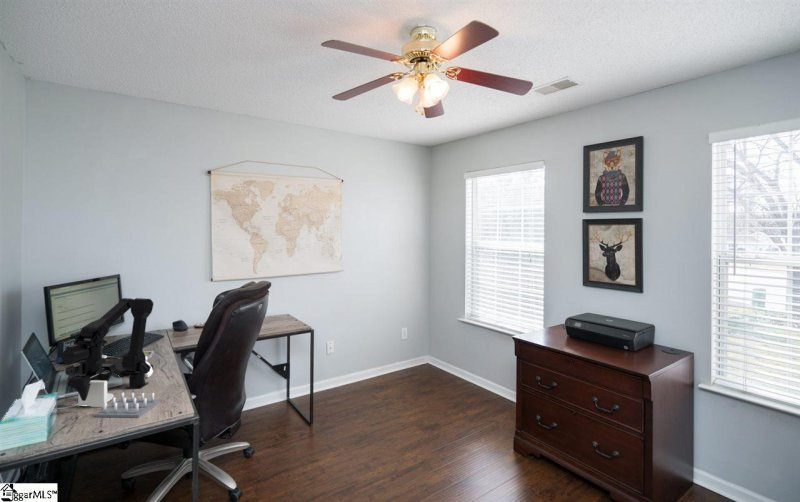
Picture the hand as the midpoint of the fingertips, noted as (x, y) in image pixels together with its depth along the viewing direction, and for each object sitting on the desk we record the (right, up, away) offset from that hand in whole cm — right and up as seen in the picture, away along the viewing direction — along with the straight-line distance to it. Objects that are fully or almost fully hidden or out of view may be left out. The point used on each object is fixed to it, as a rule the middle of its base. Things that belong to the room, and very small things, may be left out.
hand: (92, 395), depth 157 cm
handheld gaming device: (-23, -2, +66) cm, 70 cm away
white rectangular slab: (0, -4, 0) cm, 4 cm away
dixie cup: (-19, -3, +26) cm, 32 cm away
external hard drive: (-16, -3, +44) cm, 47 cm away
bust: (-2, -3, +35) cm, 35 cm away
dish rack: (+16, -5, -2) cm, 17 cm away
